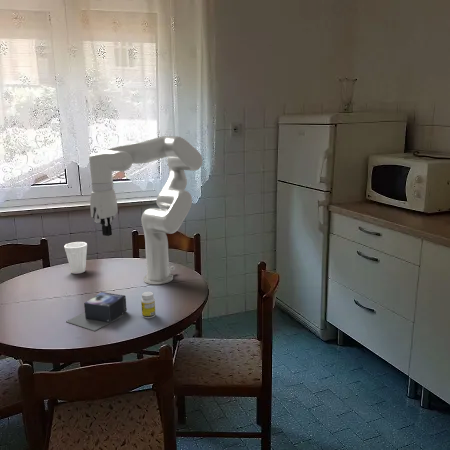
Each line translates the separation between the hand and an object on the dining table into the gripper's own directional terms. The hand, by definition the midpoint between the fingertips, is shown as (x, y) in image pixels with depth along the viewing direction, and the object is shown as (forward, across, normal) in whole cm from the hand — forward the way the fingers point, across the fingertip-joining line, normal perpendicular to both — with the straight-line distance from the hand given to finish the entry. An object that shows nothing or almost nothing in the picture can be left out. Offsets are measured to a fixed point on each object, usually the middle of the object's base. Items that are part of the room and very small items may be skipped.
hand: (107, 235), depth 166 cm
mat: (+26, +17, +7) cm, 31 cm away
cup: (+26, -17, -36) cm, 47 cm away
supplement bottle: (+26, +7, +22) cm, 35 cm away
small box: (+22, +8, +8) cm, 25 cm away
